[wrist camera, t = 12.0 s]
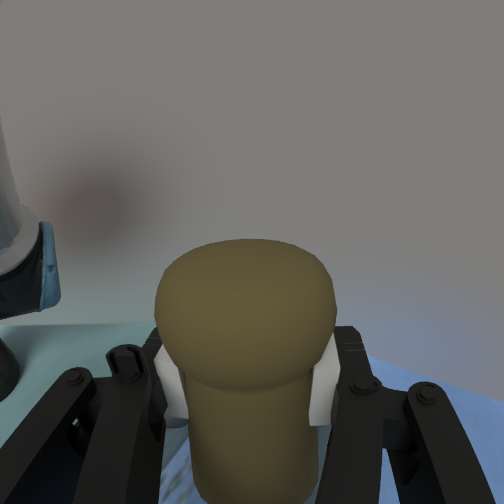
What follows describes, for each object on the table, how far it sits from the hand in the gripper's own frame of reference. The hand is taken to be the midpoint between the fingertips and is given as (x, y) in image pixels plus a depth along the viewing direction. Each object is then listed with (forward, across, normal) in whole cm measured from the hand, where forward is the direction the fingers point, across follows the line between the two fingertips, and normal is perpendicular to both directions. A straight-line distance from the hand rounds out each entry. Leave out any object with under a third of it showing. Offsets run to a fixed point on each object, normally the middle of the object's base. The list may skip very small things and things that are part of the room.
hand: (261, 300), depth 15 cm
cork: (-5, 0, -7) cm, 9 cm away
